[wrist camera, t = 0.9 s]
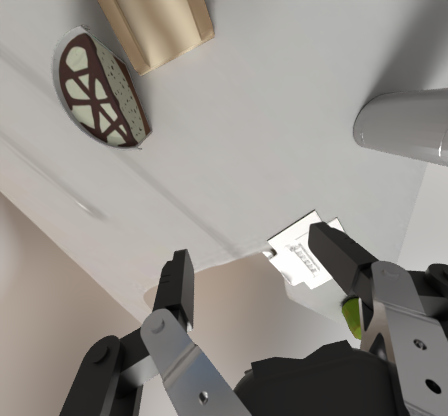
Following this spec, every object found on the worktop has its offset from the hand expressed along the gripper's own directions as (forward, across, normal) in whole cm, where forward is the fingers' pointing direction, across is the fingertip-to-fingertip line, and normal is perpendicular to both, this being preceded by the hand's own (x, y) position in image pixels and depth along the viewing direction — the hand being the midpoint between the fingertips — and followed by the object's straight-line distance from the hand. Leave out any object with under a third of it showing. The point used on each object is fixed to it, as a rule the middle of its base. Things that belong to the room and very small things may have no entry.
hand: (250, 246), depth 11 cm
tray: (+26, -23, +31) cm, 46 cm away
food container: (+26, +13, -11) cm, 31 cm away
